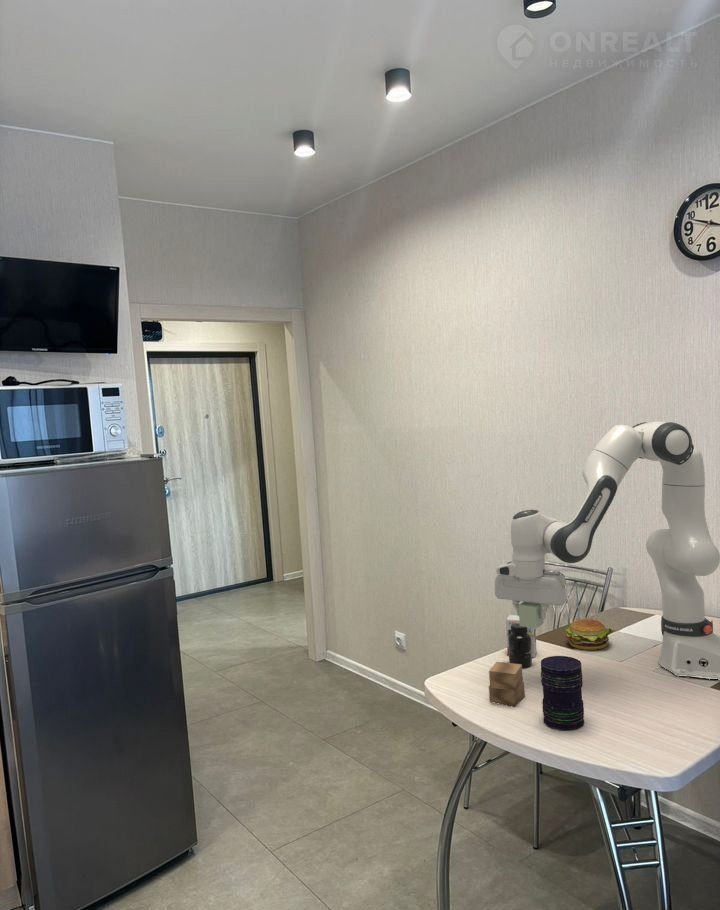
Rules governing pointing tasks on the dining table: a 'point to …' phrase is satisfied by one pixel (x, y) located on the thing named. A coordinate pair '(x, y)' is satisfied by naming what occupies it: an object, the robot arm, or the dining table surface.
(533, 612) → the sage block
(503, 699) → the tower base
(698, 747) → the dining table surface
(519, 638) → the supplement bottle
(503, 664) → the tower top
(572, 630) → the food
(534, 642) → the ink box
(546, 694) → the dark blue ribbed cylinder
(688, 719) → the dining table surface
